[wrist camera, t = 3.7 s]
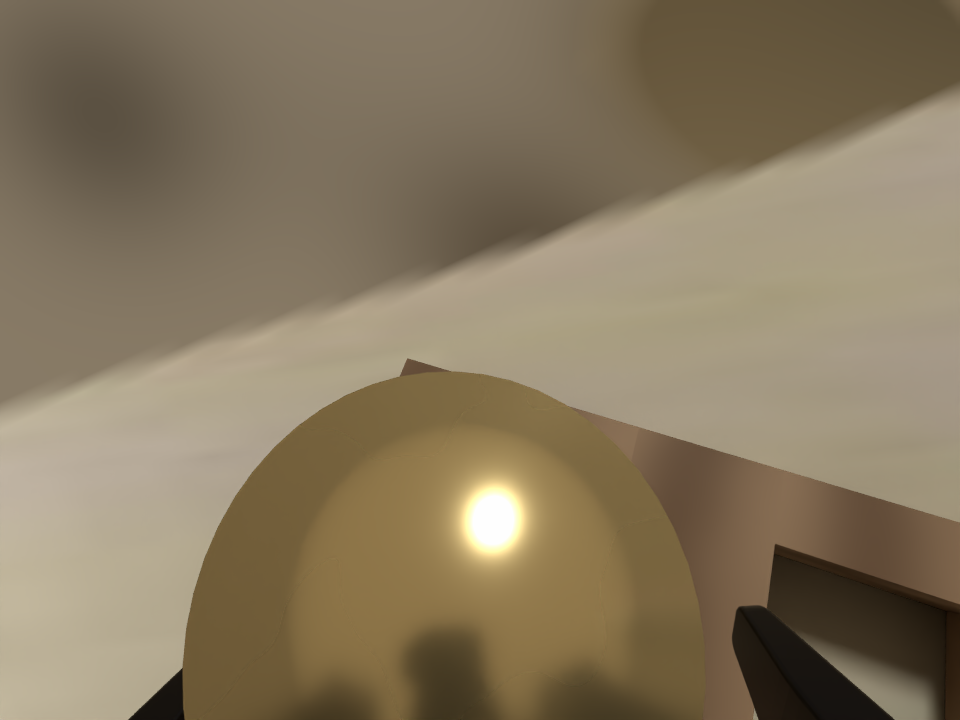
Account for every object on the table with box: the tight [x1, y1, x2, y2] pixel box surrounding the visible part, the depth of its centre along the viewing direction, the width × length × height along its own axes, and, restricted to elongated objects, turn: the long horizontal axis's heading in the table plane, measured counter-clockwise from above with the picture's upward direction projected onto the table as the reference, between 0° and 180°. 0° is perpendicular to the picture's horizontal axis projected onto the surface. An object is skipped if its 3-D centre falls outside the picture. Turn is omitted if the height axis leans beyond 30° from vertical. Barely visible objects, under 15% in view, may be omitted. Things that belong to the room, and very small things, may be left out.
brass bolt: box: [183, 372, 706, 720], centre depth 11 cm, size 5×5×14 cm
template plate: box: [400, 358, 960, 720], centre depth 15 cm, size 22×11×2 cm, turn 71°
